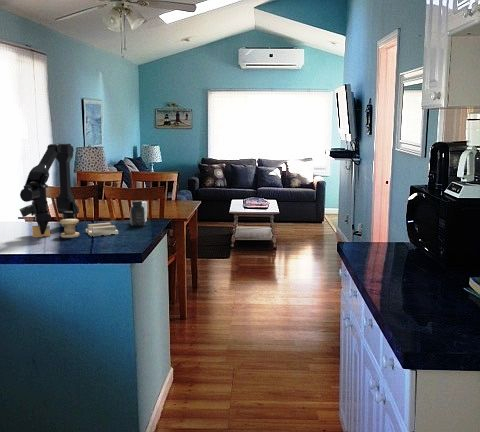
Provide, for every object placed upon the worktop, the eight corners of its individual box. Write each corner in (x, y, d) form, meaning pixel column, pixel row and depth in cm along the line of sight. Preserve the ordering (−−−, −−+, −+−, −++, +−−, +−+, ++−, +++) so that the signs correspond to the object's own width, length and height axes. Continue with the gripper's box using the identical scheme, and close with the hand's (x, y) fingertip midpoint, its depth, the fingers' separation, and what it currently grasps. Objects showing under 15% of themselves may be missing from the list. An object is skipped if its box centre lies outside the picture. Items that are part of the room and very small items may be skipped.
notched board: (85, 232, 256) (85, 224, 255) (111, 229, 261) (111, 222, 261) (91, 236, 245) (90, 228, 245) (118, 234, 251) (118, 226, 250)
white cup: (132, 220, 286) (132, 201, 284) (148, 220, 287) (147, 200, 285) (131, 223, 278) (130, 203, 277) (147, 222, 279) (146, 203, 277)
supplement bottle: (146, 224, 275) (145, 200, 273) (142, 226, 268) (142, 202, 266) (133, 224, 276) (132, 200, 274) (129, 226, 269) (128, 201, 267)
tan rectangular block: (32, 236, 248) (31, 226, 247) (49, 234, 251) (48, 224, 250) (33, 237, 244) (32, 227, 244) (50, 235, 248) (49, 226, 247)
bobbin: (59, 235, 249) (58, 219, 248) (77, 233, 253) (76, 218, 251) (62, 238, 242) (61, 222, 241) (81, 236, 245) (80, 221, 244)
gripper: (18, 197, 250) (20, 231, 252) (22, 202, 233) (24, 239, 236) (44, 195, 255) (46, 229, 257) (50, 200, 238) (52, 236, 241)
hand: (42, 233), depth 248 cm, fingers closed on tan rectangular block, 3 cm apart
